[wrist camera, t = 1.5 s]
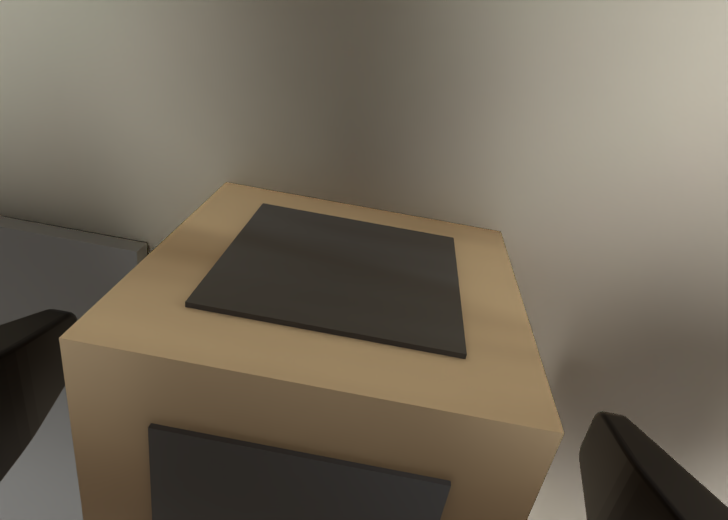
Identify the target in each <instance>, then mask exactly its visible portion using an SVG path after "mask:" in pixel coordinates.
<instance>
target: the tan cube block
mask: <svg viewBox="0 0 728 520" xmlns="http://www.w3.org/2000/svg"><path fill="white" fill-rule="evenodd" d="M59 342H60V350H61V357H62V365H63V372H64V379H65V387H66V394H67V402H68V409H69V417H70V424H71V432H72V439H73V447H74V454H75V461H76V469H77V476H78V484H79V491H80V499H81V506H82V514H83V520H527V518H528V516H529V514H530V511H531V509H532V507H533V505H534V502H535V500H536V498H537V495H538V493H539V491H540V488H541V486H542V484H543V482H544V479H545V477H546V475H547V472H548V470H549V468H550V465H551V463H552V461H553V459H554V456H555V454H556V452H557V449H558V447H559V445H560V442H561V440H562V438H563V435H564V431H563V428H562V425H561V421H560V418H559V415H558V412H557V409H556V406H555V402H554V399H553V396H552V393H551V390H550V387H549V383H548V380H547V377H546V374H545V371H544V368H543V364H542V361H541V358H540V355H539V352H538V348H537V345H536V342H535V339H534V336H533V333H532V329H531V326H530V323H529V320H528V317H527V314H526V310H525V307H524V304H523V301H522V298H521V294H520V291H519V288H518V285H517V282H516V279H515V275H514V272H513V269H512V266H511V263H510V260H509V256H508V253H507V250H506V247H505V244H504V241H503V237H502V234H501V232H500V231H495V230H489V229H484V228H478V227H473V226H467V225H461V224H456V223H450V222H445V221H439V220H434V219H428V218H423V217H417V216H411V215H406V214H400V213H395V212H389V211H384V210H378V209H373V208H367V207H361V206H356V205H350V204H345V203H339V202H334V201H328V200H322V199H317V198H311V197H306V196H300V195H295V194H289V193H284V192H278V191H272V190H267V189H261V188H256V187H250V186H245V185H239V184H234V183H228V182H226V183H225V184H224V185H223V186H222V187H220V188H219V189H218V190H217V191H216V192H215V193H214V194H213V195H212V196H211V197H210V198H209V199H208V200H206V201H205V202H204V203H203V204H202V205H201V206H200V207H199V208H198V209H197V210H196V211H195V212H194V213H193V214H191V215H190V216H189V217H188V218H187V219H186V220H185V221H184V222H183V223H182V224H181V225H180V226H179V227H177V228H176V229H175V230H174V231H173V232H172V233H171V234H170V235H169V236H168V237H167V238H166V239H165V240H164V241H162V242H161V243H160V244H159V245H158V246H157V247H156V248H155V249H154V250H153V251H152V252H151V253H150V254H148V255H147V256H146V257H145V258H144V259H143V260H142V261H141V262H140V263H139V264H138V265H137V266H136V267H135V268H133V269H132V270H131V271H130V272H129V273H128V274H127V275H126V276H125V277H124V278H123V279H122V280H121V281H119V282H118V283H117V284H116V285H115V286H114V287H113V288H112V289H111V290H110V291H109V292H108V293H107V294H106V295H104V296H103V297H102V298H101V299H100V300H99V301H98V302H97V303H96V304H95V305H94V306H93V307H92V308H90V309H89V310H88V311H87V312H86V313H85V314H84V315H83V316H82V317H81V318H80V319H79V320H78V321H77V322H75V323H74V324H73V325H72V326H71V327H70V328H69V329H68V330H67V331H66V332H65V333H64V334H63V335H61V336H60V337H59Z"/></svg>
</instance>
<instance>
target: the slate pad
mask: <svg viewBox="0 0 728 520" xmlns="http://www.w3.org/2000/svg"><path fill="white" fill-rule="evenodd" d="M146 256H147V243H145V242H139V241H134V240H128V239H123V238H117V237H112V236H106V235H101V234H96V233H90V232H85V231H79V230H74V229H68V228H63V227H57V226H52V225H46V224H41V223H35V222H30V221H25V220H19V219H14V218H8V217H3V216H0V325H2V324H5V323H8V322H11V321H14V320H17V319H20V318H23V317H26V316H29V315H32V314H35V313H38V312H41V311H44V310H47V309H57V310H62V311H68V312H72V313H73V314H75V315H76V317H77V320H79V319H80V318H81V317H82V316H83V315H84V314H85V313H86V312H87V311H88V310H89V309H90V308H92V307H93V306H94V305H95V304H96V303H97V302H98V301H99V300H100V299H101V298H102V297H103V296H104V295H106V294H107V293H108V292H109V291H110V290H111V289H112V288H113V287H114V286H115V285H116V284H117V283H118V282H119V281H121V280H122V279H123V278H124V277H125V276H126V275H127V274H128V273H129V272H130V271H131V270H132V269H133V268H135V267H136V266H137V265H138V264H139V263H140V262H141V261H142V260H143V259H144V258H145V257H146ZM0 520H83V514H82V506H81V499H80V491H79V484H78V476H77V469H76V461H75V454H74V447H73V439H72V432H71V424H70V417H69V409H68V402H67V394H66V387H64V389H63V390H62V392H61V394H60V395H59V397H58V399H57V400H56V402H55V403H54V405H53V407H52V408H51V410H50V412H49V413H48V415H47V417H46V418H45V420H44V422H43V423H42V425H41V427H40V428H39V430H38V431H37V433H36V434H35V436H34V437H33V439H32V440H31V442H30V443H29V445H28V446H27V447H26V449H25V450H24V452H23V453H22V454H21V456H20V457H19V458H18V460H17V461H16V462H15V464H14V465H13V466H12V467H11V469H10V470H9V471H8V473H7V474H6V475H5V477H4V478H3V479H2V481H1V482H0Z"/></svg>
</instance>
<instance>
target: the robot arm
mask: <svg viewBox="0 0 728 520" xmlns="http://www.w3.org/2000/svg"><path fill="white" fill-rule="evenodd" d="M77 321H78V320H77V317H76V315H75V314H73V313H72V312H68V311H62V310H57V309H47V310H44V311H41V312H38V313H35V314H32V315H29V316H26V317H23V318H20V319H17V320H14V321H11V322H8V323H5V324H2V325H0V482H1V481H2V479H3V478H4V477H5V475H6V474H7V473H8V471H9V470H10V469H11V467H12V466H13V465H14V464H15V462H16V461H17V460H18V458H19V457H20V456H21V454H22V453H23V452H24V450H25V449H26V447H27V446H28V445H29V443H30V442H31V440H32V439H33V437H34V436H35V434H36V433H37V431H38V430H39V428H40V427H41V425H42V423H43V422H44V420H45V418H46V417H47V415H48V413H49V412H50V410H51V408H52V407H53V405H54V403H55V402H56V400H57V399H58V397H59V395H60V394H61V392H62V390H63V389H64V387H65V379H64V372H63V365H62V357H61V350H60V342H59V337H60V336H61V335H63V334H64V333H65V332H66V331H67V330H68V329H69V328H70V327H71V326H72V325H73V324H74V323H75V322H77ZM579 462H580V469H581V477H582V485H583V492H584V500H585V507H586V515H587V520H728V507H727V506H726V505H725V504H723V503H722V502H721V501H720V500H719V499H718V498H717V497H716V496H714V495H713V494H712V493H711V492H710V491H709V490H708V489H707V488H705V487H704V486H703V485H702V484H701V483H700V482H699V481H698V480H696V479H695V478H694V477H693V476H692V475H691V474H690V473H689V472H687V471H686V470H685V469H684V468H683V467H682V466H681V465H680V464H678V463H677V462H676V461H675V460H674V459H673V458H672V457H671V456H669V455H668V454H667V453H666V452H665V451H664V450H663V449H662V448H660V447H659V446H658V445H657V444H656V443H655V442H654V441H653V440H651V439H650V438H649V437H648V436H647V435H646V434H645V433H644V432H642V431H641V430H640V429H639V428H638V427H637V426H636V425H634V424H633V423H632V422H631V421H630V420H629V419H628V418H626V417H625V416H623V415H619V414H614V413H609V412H603V411H602V412H599V413H597V414H596V415H595V417H594V418H593V420H592V423H591V425H590V427H589V429H588V431H587V434H586V436H585V438H584V440H583V442H582V445H581V448H580V453H579Z"/></svg>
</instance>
